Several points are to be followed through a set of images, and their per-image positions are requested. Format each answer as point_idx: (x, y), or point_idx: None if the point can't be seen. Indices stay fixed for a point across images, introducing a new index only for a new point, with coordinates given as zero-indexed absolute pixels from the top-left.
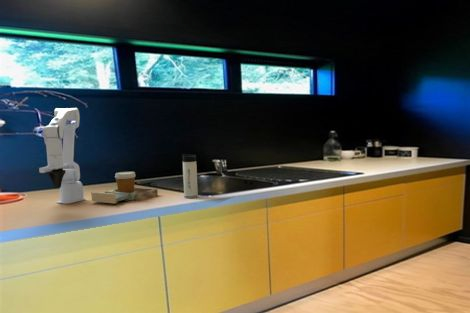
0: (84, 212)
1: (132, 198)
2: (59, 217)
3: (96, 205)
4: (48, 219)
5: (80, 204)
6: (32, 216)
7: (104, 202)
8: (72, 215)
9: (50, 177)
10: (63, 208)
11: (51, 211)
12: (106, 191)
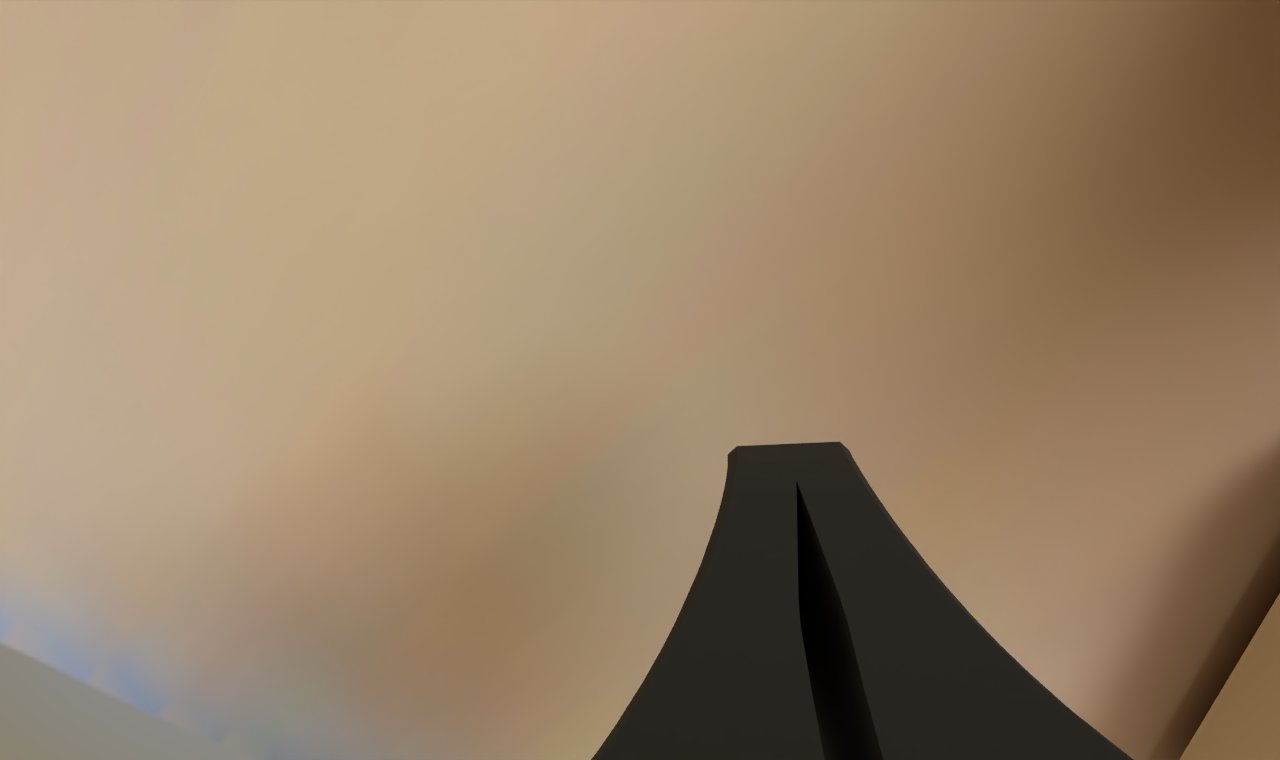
0: None
1: None
2: (381, 567)
3: (1172, 555)
4: (236, 513)
5: (1273, 229)
6: (187, 101)
7: (1236, 666)
8: (533, 640)
9: (615, 753)
10: (886, 162)
11: (610, 130)
12: None
